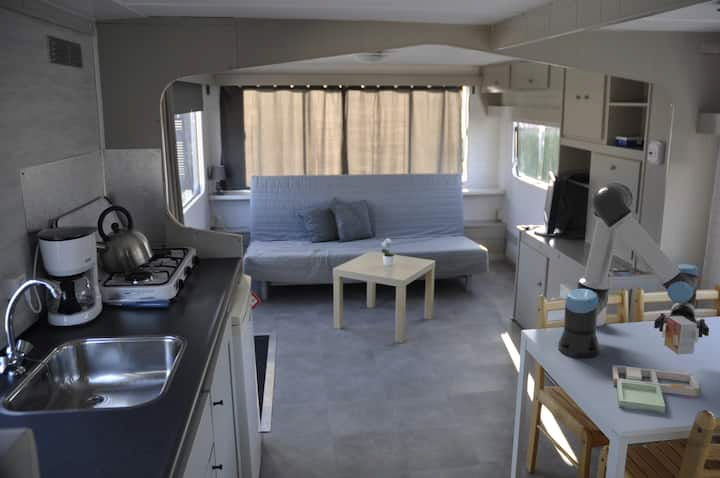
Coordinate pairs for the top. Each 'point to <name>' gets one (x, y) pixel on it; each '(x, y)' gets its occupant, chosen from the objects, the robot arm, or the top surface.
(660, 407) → the tray
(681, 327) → the small box
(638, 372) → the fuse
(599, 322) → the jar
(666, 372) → the beige divided frame
